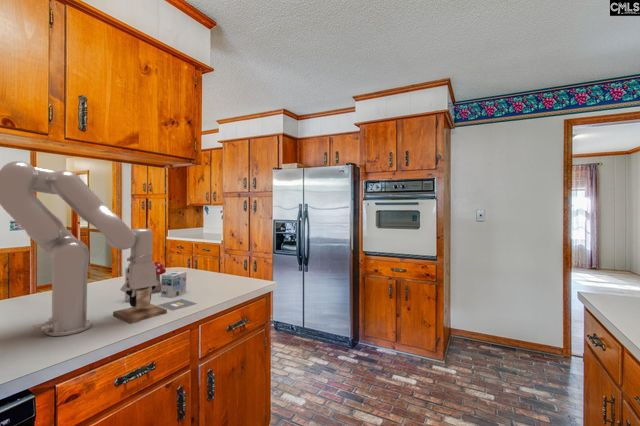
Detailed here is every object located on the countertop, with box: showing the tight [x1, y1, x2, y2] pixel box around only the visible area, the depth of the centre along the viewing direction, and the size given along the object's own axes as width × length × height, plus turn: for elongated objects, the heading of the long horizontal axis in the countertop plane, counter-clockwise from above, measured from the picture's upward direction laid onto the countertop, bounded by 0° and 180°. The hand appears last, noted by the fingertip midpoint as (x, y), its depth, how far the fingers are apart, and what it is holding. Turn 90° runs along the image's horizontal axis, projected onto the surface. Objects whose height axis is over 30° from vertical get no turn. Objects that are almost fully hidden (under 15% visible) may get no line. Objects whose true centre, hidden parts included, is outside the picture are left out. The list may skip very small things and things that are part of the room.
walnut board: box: [112, 303, 168, 324], centre depth 124 cm, size 14×14×2 cm
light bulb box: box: [160, 270, 187, 299], centre depth 153 cm, size 11×7×11 cm, turn 168°
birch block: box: [131, 288, 151, 309], centre depth 124 cm, size 5×5×7 cm
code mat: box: [157, 298, 198, 312], centre depth 137 cm, size 12×12×1 cm
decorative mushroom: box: [151, 261, 167, 294], centre depth 158 cm, size 10×9×15 cm
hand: (140, 303), depth 124 cm, fingers closed on birch block, 4 cm apart
